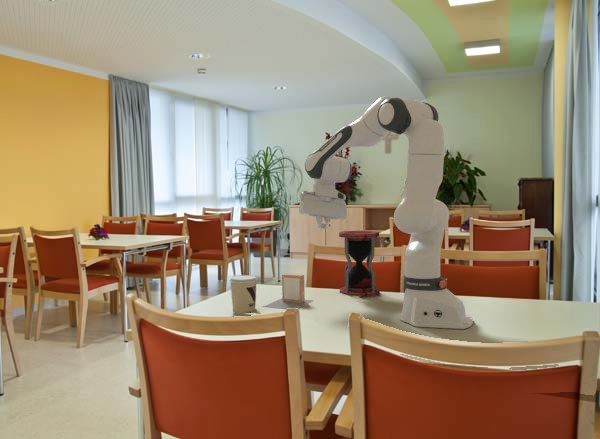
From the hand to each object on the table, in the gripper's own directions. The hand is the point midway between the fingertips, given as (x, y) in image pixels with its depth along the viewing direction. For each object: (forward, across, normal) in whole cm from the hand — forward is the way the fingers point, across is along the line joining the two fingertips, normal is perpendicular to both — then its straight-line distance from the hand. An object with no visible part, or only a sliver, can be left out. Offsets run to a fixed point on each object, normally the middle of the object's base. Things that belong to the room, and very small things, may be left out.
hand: (322, 228), depth 199 cm
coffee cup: (+33, -30, +1) cm, 45 cm away
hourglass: (+24, +20, +2) cm, 31 cm away
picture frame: (+29, -10, +2) cm, 31 cm away
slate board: (+30, -14, 0) cm, 33 cm away
